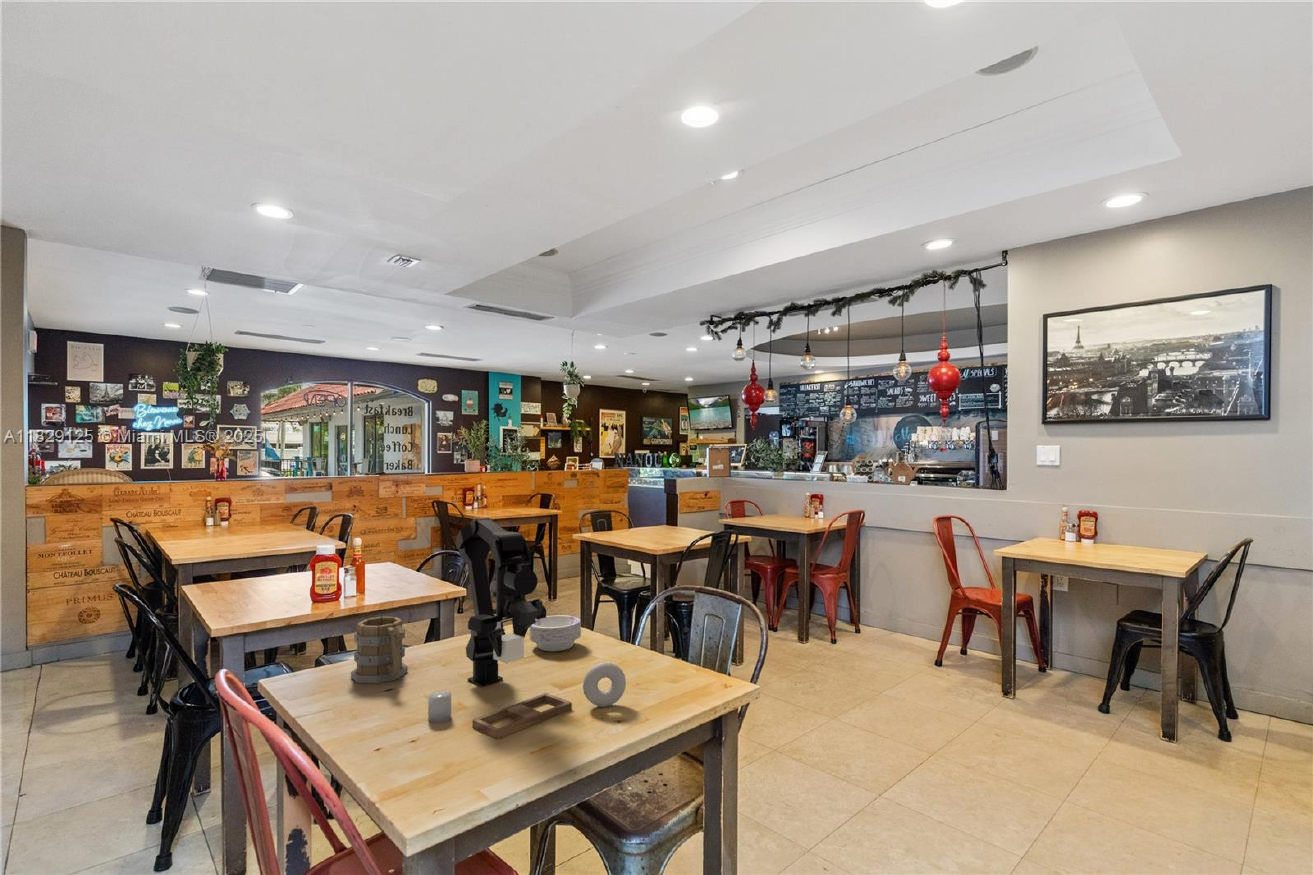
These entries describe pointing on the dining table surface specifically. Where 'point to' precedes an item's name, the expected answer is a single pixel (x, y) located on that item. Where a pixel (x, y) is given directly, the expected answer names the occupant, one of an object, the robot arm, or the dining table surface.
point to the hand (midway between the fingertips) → (508, 654)
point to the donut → (612, 693)
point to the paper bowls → (555, 632)
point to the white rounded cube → (511, 648)
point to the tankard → (379, 650)
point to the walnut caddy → (521, 715)
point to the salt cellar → (439, 706)
